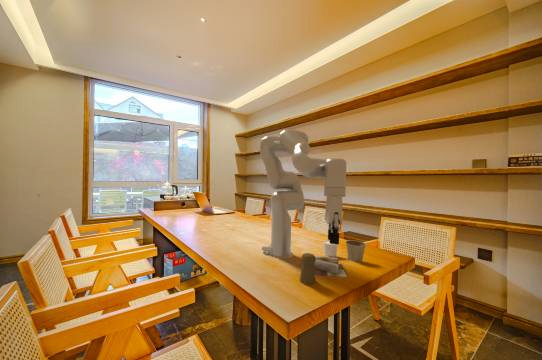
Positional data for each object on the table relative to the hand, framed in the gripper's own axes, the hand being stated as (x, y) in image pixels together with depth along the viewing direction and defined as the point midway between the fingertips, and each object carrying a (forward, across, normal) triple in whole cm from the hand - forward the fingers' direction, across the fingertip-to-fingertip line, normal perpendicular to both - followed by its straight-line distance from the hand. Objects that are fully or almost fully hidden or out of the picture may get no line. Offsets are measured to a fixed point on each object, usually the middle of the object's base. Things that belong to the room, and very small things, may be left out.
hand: (333, 241), depth 86 cm
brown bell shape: (+16, +3, -9) cm, 18 cm away
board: (+15, -10, -2) cm, 18 cm away
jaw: (+14, -9, -4) cm, 17 cm away
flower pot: (+16, -25, +14) cm, 33 cm away
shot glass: (+16, -29, +3) cm, 33 cm away
